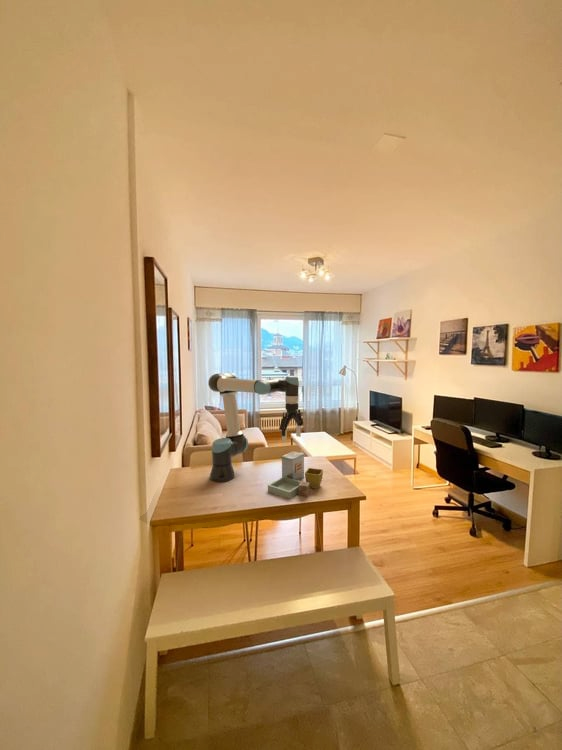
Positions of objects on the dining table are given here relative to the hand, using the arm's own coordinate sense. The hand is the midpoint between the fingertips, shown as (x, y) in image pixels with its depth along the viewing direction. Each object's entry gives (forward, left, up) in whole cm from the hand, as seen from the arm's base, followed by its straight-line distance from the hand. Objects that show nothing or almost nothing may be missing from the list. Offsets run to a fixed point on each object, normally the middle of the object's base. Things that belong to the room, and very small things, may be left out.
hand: (291, 438), depth 178 cm
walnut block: (+14, -8, -27) cm, 31 cm away
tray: (+3, -9, -27) cm, 28 cm away
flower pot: (+13, +4, -27) cm, 30 cm away
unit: (-3, +6, -27) cm, 28 cm away
